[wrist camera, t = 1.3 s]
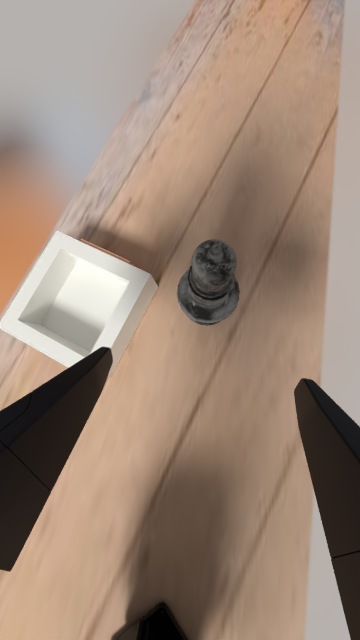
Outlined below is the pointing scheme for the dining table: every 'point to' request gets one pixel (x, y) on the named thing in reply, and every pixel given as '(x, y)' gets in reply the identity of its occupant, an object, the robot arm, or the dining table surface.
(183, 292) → the dark chess piece
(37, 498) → the robot arm
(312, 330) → the dining table surface
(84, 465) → the dining table surface
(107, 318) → the tagged holder
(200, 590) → the dining table surface
